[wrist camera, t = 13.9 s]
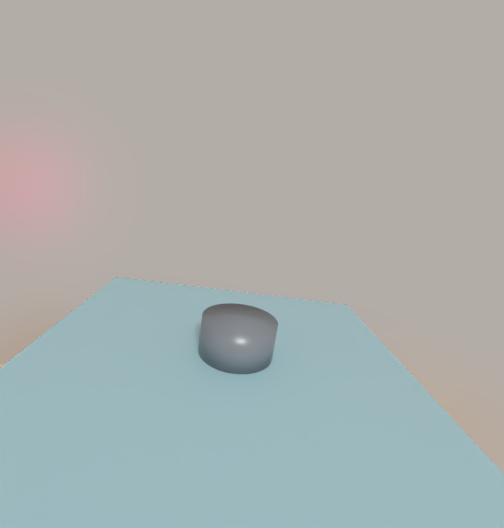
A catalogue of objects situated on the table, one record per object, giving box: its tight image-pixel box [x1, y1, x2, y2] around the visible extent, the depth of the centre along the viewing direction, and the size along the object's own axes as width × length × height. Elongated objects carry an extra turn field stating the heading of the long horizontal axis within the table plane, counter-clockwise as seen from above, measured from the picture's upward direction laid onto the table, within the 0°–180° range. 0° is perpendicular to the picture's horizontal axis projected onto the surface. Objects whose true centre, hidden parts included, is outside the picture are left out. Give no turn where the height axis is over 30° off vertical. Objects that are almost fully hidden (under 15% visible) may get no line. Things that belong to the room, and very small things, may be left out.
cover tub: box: [0, 277, 504, 528], centre depth 11 cm, size 12×12×11 cm
